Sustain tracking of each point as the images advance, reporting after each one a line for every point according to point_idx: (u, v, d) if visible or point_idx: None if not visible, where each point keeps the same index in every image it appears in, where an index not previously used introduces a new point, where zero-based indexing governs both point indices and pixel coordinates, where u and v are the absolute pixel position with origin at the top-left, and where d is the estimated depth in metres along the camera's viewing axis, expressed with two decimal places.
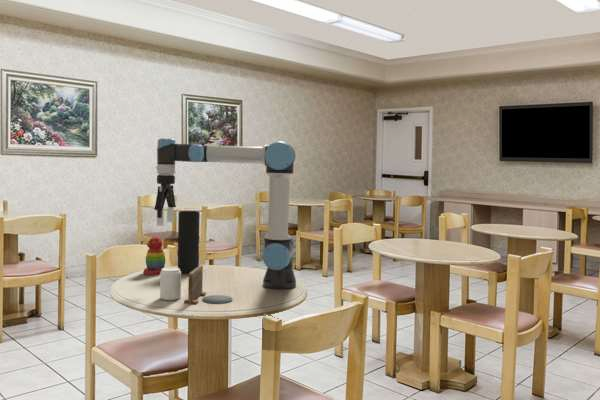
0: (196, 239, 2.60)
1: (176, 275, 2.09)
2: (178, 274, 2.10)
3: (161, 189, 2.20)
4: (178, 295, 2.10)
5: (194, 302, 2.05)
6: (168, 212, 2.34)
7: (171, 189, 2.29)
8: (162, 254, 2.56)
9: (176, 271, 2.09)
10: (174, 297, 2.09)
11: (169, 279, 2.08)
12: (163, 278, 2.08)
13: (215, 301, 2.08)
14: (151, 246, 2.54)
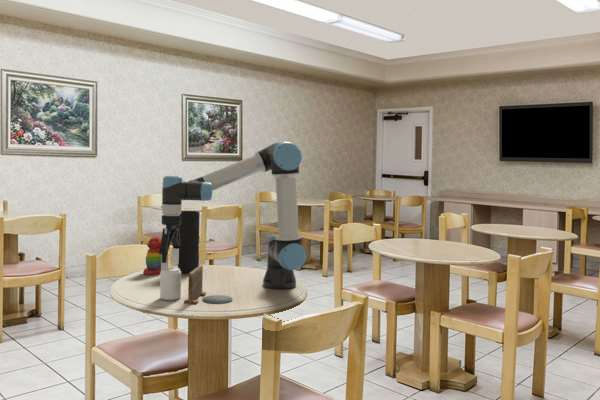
0: (196, 239, 2.60)
1: (176, 275, 2.09)
2: (178, 274, 2.10)
3: (166, 231, 2.03)
4: (178, 295, 2.10)
5: (194, 302, 2.05)
6: (173, 254, 2.17)
7: (177, 230, 2.12)
8: None
9: (176, 271, 2.09)
10: (174, 297, 2.09)
11: (169, 279, 2.08)
12: (163, 278, 2.08)
13: (215, 301, 2.08)
14: (151, 246, 2.54)
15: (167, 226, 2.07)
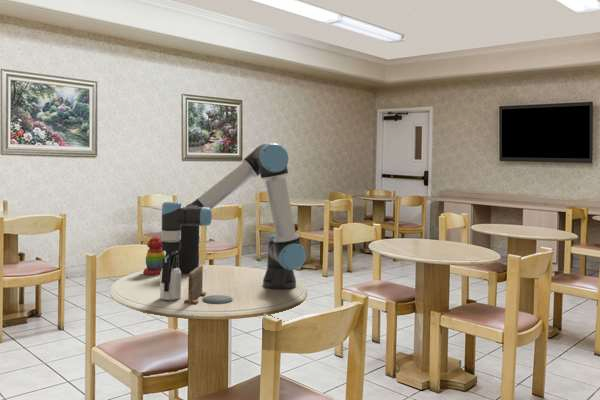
0: (196, 239, 2.60)
1: (176, 275, 2.09)
2: (178, 274, 2.10)
3: (166, 261, 2.05)
4: (178, 295, 2.10)
5: (194, 302, 2.05)
6: None
7: (177, 256, 2.13)
8: (162, 254, 2.56)
9: (176, 271, 2.09)
10: (174, 297, 2.09)
11: None
12: None
13: (215, 301, 2.08)
14: (151, 246, 2.54)
15: (167, 252, 2.07)
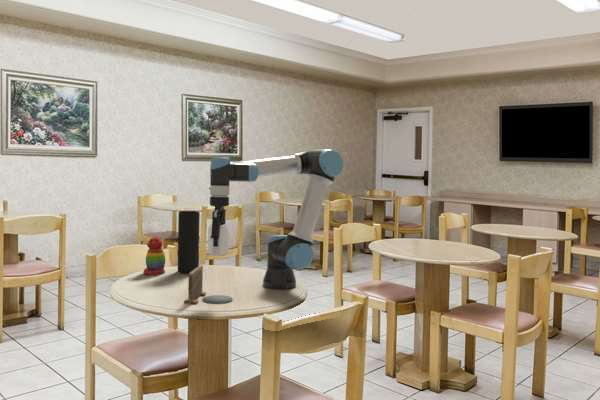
0: (196, 239, 2.60)
1: (225, 230, 2.07)
2: (226, 230, 2.08)
3: (216, 215, 2.03)
4: (226, 251, 2.09)
5: (194, 302, 2.05)
6: None
7: (224, 212, 2.11)
8: (162, 254, 2.56)
9: (225, 226, 2.08)
10: (223, 253, 2.07)
11: None
12: None
13: (215, 301, 2.08)
14: (151, 246, 2.54)
15: (216, 207, 2.06)
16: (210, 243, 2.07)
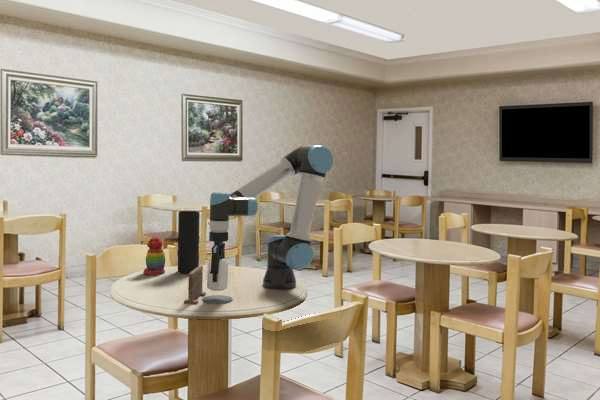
0: (196, 239, 2.60)
1: (224, 265, 2.08)
2: (226, 264, 2.09)
3: (215, 251, 2.04)
4: (225, 286, 2.10)
5: (194, 302, 2.05)
6: None
7: (224, 246, 2.12)
8: (162, 254, 2.56)
9: (224, 261, 2.09)
10: (222, 287, 2.08)
11: None
12: None
13: (215, 301, 2.08)
14: (151, 246, 2.54)
15: (215, 243, 2.07)
16: (209, 278, 2.08)
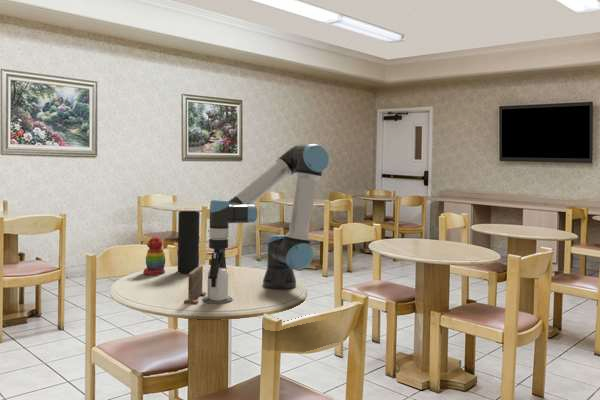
0: (196, 239, 2.60)
1: (224, 275, 2.09)
2: (226, 274, 2.10)
3: (215, 256, 2.04)
4: (226, 295, 2.10)
5: (194, 302, 2.05)
6: None
7: (224, 253, 2.12)
8: (162, 254, 2.56)
9: (224, 271, 2.09)
10: (222, 297, 2.09)
11: None
12: None
13: (215, 301, 2.08)
14: (151, 246, 2.54)
15: (215, 250, 2.07)
16: (209, 288, 2.09)
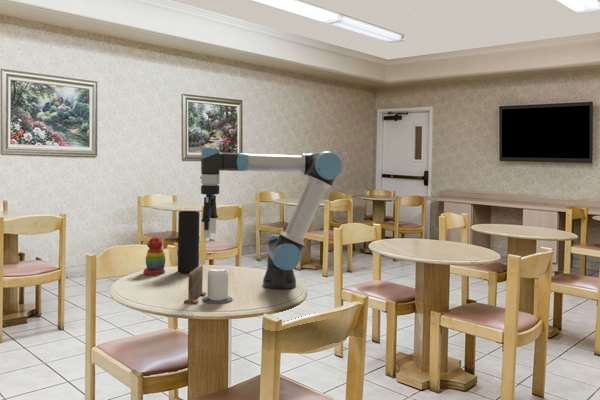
0: (196, 239, 2.60)
1: (224, 275, 2.09)
2: (226, 274, 2.10)
3: (208, 200, 2.12)
4: (226, 295, 2.10)
5: (194, 302, 2.05)
6: (210, 223, 2.26)
7: (215, 199, 2.21)
8: (162, 254, 2.56)
9: (224, 271, 2.09)
10: (222, 297, 2.09)
11: (217, 280, 2.08)
12: (211, 279, 2.08)
13: (215, 301, 2.08)
14: (151, 246, 2.54)
15: (207, 195, 2.15)
16: (209, 288, 2.09)
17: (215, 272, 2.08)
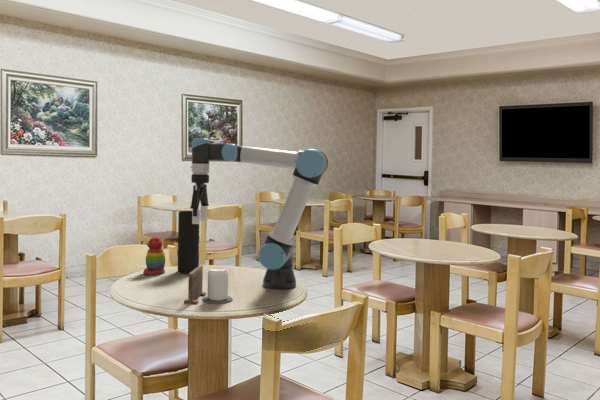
0: (196, 239, 2.60)
1: (224, 275, 2.09)
2: (226, 274, 2.10)
3: (196, 188, 2.23)
4: (226, 295, 2.10)
5: (194, 302, 2.05)
6: (201, 211, 2.37)
7: (205, 188, 2.31)
8: (162, 254, 2.56)
9: (224, 271, 2.09)
10: (222, 297, 2.09)
11: (217, 280, 2.08)
12: (211, 279, 2.08)
13: (215, 301, 2.08)
14: (151, 246, 2.54)
15: (197, 184, 2.26)
16: (209, 288, 2.09)
17: (215, 272, 2.08)
